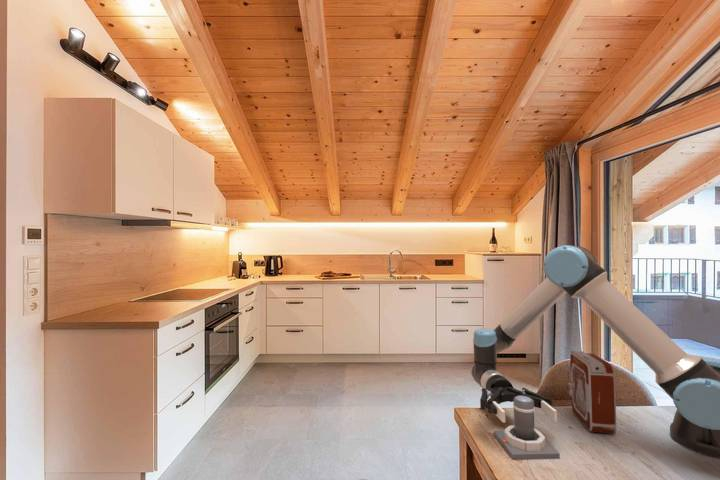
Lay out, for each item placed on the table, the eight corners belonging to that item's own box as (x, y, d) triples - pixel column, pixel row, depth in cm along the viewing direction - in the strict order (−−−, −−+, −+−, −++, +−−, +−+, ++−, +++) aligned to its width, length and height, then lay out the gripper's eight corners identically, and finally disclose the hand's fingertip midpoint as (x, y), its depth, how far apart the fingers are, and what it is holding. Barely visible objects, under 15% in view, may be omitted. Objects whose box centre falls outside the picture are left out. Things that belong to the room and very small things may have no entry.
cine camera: (591, 407, 118) (589, 346, 119) (622, 437, 99) (620, 364, 100) (561, 405, 120) (560, 345, 121) (586, 434, 101) (584, 363, 102)
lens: (529, 436, 98) (528, 394, 98) (539, 446, 93) (538, 402, 93) (510, 436, 98) (509, 394, 98) (519, 446, 93) (518, 402, 93)
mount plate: (535, 434, 101) (535, 422, 101) (559, 458, 89) (559, 445, 89) (493, 435, 101) (493, 423, 101) (512, 459, 89) (512, 446, 89)
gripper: (535, 397, 114) (577, 430, 92) (458, 398, 113) (482, 432, 92) (535, 373, 114) (576, 401, 93) (457, 374, 113) (481, 402, 92)
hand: (529, 416), depth 92 cm, fingers open, 13 cm apart
